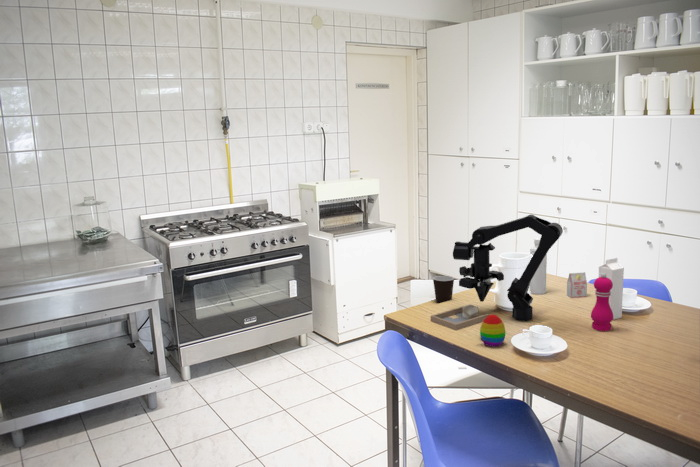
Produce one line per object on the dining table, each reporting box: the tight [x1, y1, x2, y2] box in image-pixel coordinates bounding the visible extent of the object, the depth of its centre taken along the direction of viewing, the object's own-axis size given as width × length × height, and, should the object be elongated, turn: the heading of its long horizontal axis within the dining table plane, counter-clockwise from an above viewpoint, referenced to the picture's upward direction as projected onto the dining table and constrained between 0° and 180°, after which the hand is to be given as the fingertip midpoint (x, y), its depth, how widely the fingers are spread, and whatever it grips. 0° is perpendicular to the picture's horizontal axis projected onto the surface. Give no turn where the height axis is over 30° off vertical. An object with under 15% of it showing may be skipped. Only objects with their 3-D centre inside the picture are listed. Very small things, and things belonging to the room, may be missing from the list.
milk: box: [598, 257, 625, 321], centre depth 210 cm, size 6×6×22 cm
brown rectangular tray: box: [430, 306, 490, 331], centre depth 211 cm, size 13×17×4 cm
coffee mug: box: [432, 275, 455, 304], centre depth 239 cm, size 12×9×10 cm
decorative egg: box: [479, 314, 506, 347], centre depth 191 cm, size 8×8×10 cm
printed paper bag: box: [566, 272, 588, 299], centre depth 238 cm, size 4×7×10 cm, turn 97°
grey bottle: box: [529, 237, 548, 296], centre depth 244 cm, size 7×7×25 cm
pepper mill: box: [590, 273, 614, 332], centre depth 199 cm, size 7×7×20 cm
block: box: [463, 304, 479, 319], centre depth 214 cm, size 4×4×4 cm
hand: (481, 301), depth 216 cm, fingers closed
